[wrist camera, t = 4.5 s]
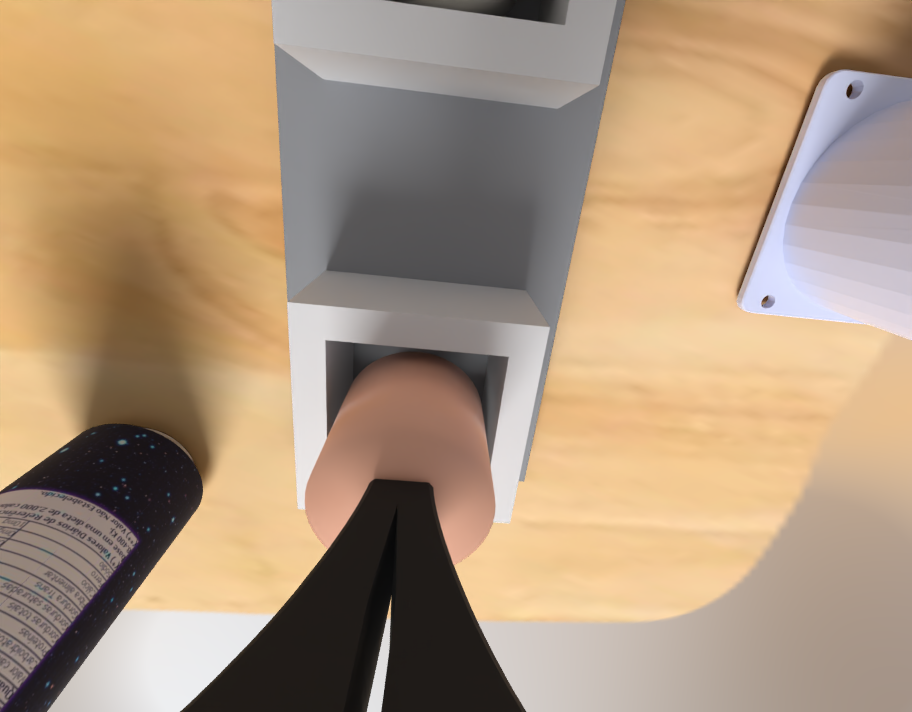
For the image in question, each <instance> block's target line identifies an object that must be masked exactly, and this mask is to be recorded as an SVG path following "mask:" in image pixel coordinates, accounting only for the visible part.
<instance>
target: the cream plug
mask: <svg viewBox="0 0 912 712" xmlns="http://www.w3.org/2000/svg"><path fill="white" fill-rule="evenodd" d="M516 1H517V0H393V2H399V3H407V4H414V5H421V6H428V7H436V8H443V9H450V10H457V11H465V12H472V13H479V14H486V15H494V16H501V17H504V16H505V15H506V14H507V13H508V12H509V11H510V10H511V8H512V7H513V5H514V4H515V3H516Z"/></svg>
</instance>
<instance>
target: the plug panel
mask: <svg viewBox="0 0 912 712" xmlns="http://www.w3.org/2000/svg"><path fill="white" fill-rule="evenodd" d="M625 1H626V0H517V1H516V3H515V4H514V5H513V7H512V8H511V10H510V11H509V12H508V13H507V14H506V15H505V16H504V17H501V16H494V15H486V14H479V13H472V12H465V11H457V10H450V9H443V8H436V7H428V6H421V5H414V4H407V3H399V2H393V0H272V18H273V37H274V45H275V64H276V84H277V103H278V123H279V142H280V162H281V182H282V201H283V221H284V240H285V260H286V279H287V299H288V302H287V309H288V328H289V348H290V367H291V386H292V406H293V425H294V444H295V464H296V483H297V503H298V509H305V490H306V486H307V482H308V480H309V477H310V475H311V472H312V470H313V468H314V466H315V463H316V461H317V459H318V457H319V455H320V452H321V450H322V448H323V446H324V444H325V441H326V439H327V437H328V435H329V432H330V430H331V428H332V426H333V424H334V421H335V419H336V417H337V415H338V413H339V410H340V408H341V406H342V404H343V401H344V399H345V397H346V395H347V393H348V390H349V388H350V386H351V384H352V383H353V381H354V379H355V378H356V377H357V376H358V374H359V373H360V372H361V371H362V370H363V369H364V368H365V367H367V366H368V365H369V364H371V363H372V362H374V361H376V360H378V359H380V358H382V357H385V356H388V355H390V354H395V353H399V352H423V353H429V354H433V355H436V356H439V357H441V358H444V359H446V360H448V361H450V362H452V363H453V364H455V365H456V366H457V367H459V368H460V369H461V370H462V371H463V372H465V373H466V374H467V375H468V377H469V378H470V379H471V381H472V382H473V383H474V385H475V387H476V389H477V391H478V393H479V396H480V400H481V404H482V411H483V417H484V424H485V431H486V438H487V445H488V452H489V459H490V466H491V473H492V480H493V487H494V493H495V505H496V507H495V516H494V520H493V522H497V523H510V520H511V515H512V511H513V506H514V501H515V496H516V491H517V486H518V481H524V479H525V475H526V470H527V465H528V460H529V456H530V451H531V446H532V441H533V437H534V432H535V427H536V422H537V418H538V413H539V408H540V404H541V399H542V394H543V389H544V385H545V380H546V375H547V370H548V366H549V361H550V356H551V351H552V347H553V342H554V337H555V332H556V328H557V323H558V318H559V313H560V309H561V304H562V299H563V294H564V290H565V285H566V280H567V276H568V271H569V266H570V261H571V257H572V252H573V247H574V242H575V238H576V233H577V228H578V223H579V219H580V214H581V209H582V204H583V200H584V195H585V190H586V185H587V181H588V176H589V171H590V167H591V162H592V157H593V152H594V148H595V143H596V138H597V133H598V129H599V124H600V119H601V114H602V110H603V105H604V100H605V95H606V91H607V86H608V81H609V76H610V72H611V67H612V62H613V57H614V53H615V48H616V43H617V39H618V34H619V29H620V24H621V20H622V15H623V10H624V5H625Z"/></svg>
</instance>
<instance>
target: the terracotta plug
mask: <svg viewBox="0 0 912 712" xmlns="http://www.w3.org/2000/svg"><path fill="white" fill-rule="evenodd" d="M374 479H387V480H401V481H415V482H428V483H430V484H431V485H432V486H433V489H434V498H435V504H436V509H437V513H438V518H439V521H440V525H441V529H442V532H443V535H444V539H445V542H446V545H447V548H448V550H449V553H450V556H451V559H452V562H453V565H455V564H457V563H459V562H461V561H462V560H464V559H465V558H467V557H468V556H469V555H471V554H472V553H473V552H474V551H475V550H476V549H477V548H478V547H479V546H480V545H481V544H482V542H483V541H484V539H485V538H486V536H487V535H488V533H489V531H490V529H491V526H492V524H493V520H494V516H495V507H496V505H495V493H494V487H493V480H492V473H491V466H490V459H489V452H488V445H487V438H486V431H485V424H484V417H483V411H482V404H481V400H480V396H479V393H478V391H477V389H476V387H475V385H474V383H473V382H472V381H471V379H470V378H469V377H468V375H467V374H466V373H465V372H463V371H462V370H461V369H460V368H459V367H457V366H456V365H455V364H453V363H452V362H450V361H448V360H446V359H444V358H441V357H439V356H436V355H433V354H429V353H423V352H399V353H395V354H390V355H388V356H385V357H382V358H380V359H378V360H376V361H374V362H372V363H371V364H369V365H368V366H367V367H365V368H364V369H363V370H362V371H361V372H360V373H359V374H358V376H357V377H356V378H355V379H354V381H353V383H352V384H351V386H350V388H349V390H348V393H347V395H346V397H345V399H344V401H343V404H342V406H341V408H340V410H339V413H338V415H337V417H336V419H335V421H334V424H333V426H332V428H331V430H330V432H329V435H328V437H327V439H326V441H325V444H324V446H323V448H322V450H321V452H320V455H319V457H318V459H317V461H316V463H315V466H314V468H313V470H312V472H311V475H310V477H309V480H308V482H307V486H306V490H305V510H306V515H307V518H308V521H309V524H310V526H311V528H312V530H313V532H314V533H315V535H316V536H317V538H318V539H319V540H320V541H321V543H322V544H323V545H324V546H325V547H326V548H327V549H329V547H330V546H331V544H332V543H333V541H334V540H335V539H336V537H337V536H338V534H339V533H340V531H341V530H342V529H343V527H344V526H345V524H346V523H347V521H348V520H349V518H350V516H351V515H352V513H353V512H354V510H355V508H356V507H357V505H358V503H359V502H360V500H361V498H362V496H363V495H364V493H365V491H366V489H367V487H368V485H369V483H370V482H371V481H372V480H374Z"/></svg>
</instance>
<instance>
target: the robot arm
mask: <svg viewBox="0 0 912 712" xmlns="http://www.w3.org/2000/svg"><path fill="white" fill-rule="evenodd" d="M850 83H851V84H852V87H853V90H852V93H851V95H850V97H849V98H847V95H846V90H847V88H848V86H849V84H850ZM766 296H768V300H767V301H766V303H765V304H763V305H761V301H762V300H763V298H764V297H766ZM737 305H738V307H739V308H740V309H742V310H744V311H746V312H750V313H759V314H769V315H778V316H788V317H798V318H808V319H818V320H828V321H838V322H848V323H858V324H868V325H871V326H874V327H877V328H880V329H882V330H885V331H888V332H890V333H893V334H896V335H899V336H901V337H904V338H907V339H910V340H912V78H905V77H898V76H891V75H883V74H876V73H869V72H861V71H854V70H847V69H845V70H838V71H834V72H831V73H829V74H827V75H825V76H824V77H823V78H822V79H821V80H820V82H819V84H818V86H817V87H816V90H815V93H814V95H813V98H812V101H811V103H810V106H809V108H808V111H807V114H806V116H805V119H804V122H803V124H802V127H801V130H800V132H799V135H798V138H797V140H796V143H795V146H794V148H793V151H792V154H791V156H790V159H789V162H788V164H787V167H786V170H785V172H784V175H783V177H782V180H781V183H780V185H779V188H778V191H777V193H776V196H775V199H774V201H773V204H772V207H771V209H770V212H769V215H768V217H767V220H766V223H765V225H764V228H763V231H762V233H761V236H760V239H759V241H758V244H757V246H756V249H755V252H754V254H753V257H752V260H751V262H750V265H749V268H748V270H747V273H746V276H745V278H744V281H743V284H742V286H741V289H740V292H739V294H738V297H737ZM391 595H392V598H391ZM390 600H391V626H390V650H389V658H388V666H387V674H386V681H385V689H384V697H383V704H382V711H381V712H526V711H525V709H524V708H523V706H522V704H521V702H520V701H519V699H518V697H517V696H516V694H515V692H514V691H513V689H512V687H511V686H510V684H509V682H508V680H507V678H506V677H505V674H504V673H503V671H502V669H501V667H500V665H499V663H498V662H497V660H496V658H495V656H494V654H493V652H492V650H491V648H490V646H489V644H488V642H487V640H486V638H485V636H484V634H483V632H482V630H481V628H480V626H479V624H478V622H477V620H476V618H475V615H474V613H473V611H472V609H471V606H470V604H469V602H468V599H467V597H466V595H465V592H464V590H463V588H462V585H461V583H460V580H459V578H458V575H457V573H456V570H455V568H454V565H453V562H452V559H451V556H450V553H449V550H448V548H447V545H446V542H445V539H444V535H443V532H442V529H441V525H440V521H439V518H438V513H437V509H436V504H435V498H434V489H433V486H432V485H431V484H430V483H428V482H415V481H401V480H387V479H374V480H372V481H371V482H370V483H369V485H368V487H367V489H366V491H365V493H364V495H363V496H362V498H361V500H360V502H359V503H358V505H357V507H356V508H355V510H354V512H353V513H352V515H351V516H350V518H349V520H348V521H347V523H346V524H345V526H344V527H343V529H342V530H341V531H340V533H339V534H338V536H337V537H336V539H335V540H334V541H333V543H332V544H331V546H330V547H329V549H328V550H327V551H326V553H325V554H324V556H323V557H322V558H321V560H320V561H319V562H318V563H317V565H316V566H315V567H314V568H313V570H312V571H311V572H310V574H309V575H308V576H307V577H306V579H305V580H304V581H303V582H302V584H301V585H300V586H299V588H298V589H297V590H296V591H295V592H294V594H293V595H292V596H291V597H290V598H289V600H288V601H287V602H286V603H285V604H284V606H283V607H282V608H281V609H280V610H279V611H278V612H277V614H276V615H275V616H274V617H273V618H272V620H270V622H269V623H268V624H267V625H266V626H265V627H264V628H263V629H262V630H261V631H260V632H259V634H258V635H257V636H256V637H255V638H254V639H253V640H252V641H251V642H250V643H249V644H248V645H247V647H245V648H244V649H243V650H242V652H240V654H239V655H238V656H237V657H236V658H235V659H234V660H233V661H232V662H231V663H230V664H229V665H228V666H227V667H226V668H225V669H224V670H223V671H222V672H221V673H220V674H219V675H218V676H217V677H216V678H215V679H214V680H213V681H212V682H211V683H210V684H209V685H208V686H207V687H206V688H205V689H204V690H203V691H202V692H201V693H200V694H199V695H198V696H197V697H196V698H195V699H193V700H192V701H191V702H190V703H189V704H188V705H187V706H186V707H185V708H184V709H183V710H182V711H180V712H367V707H368V702H369V698H370V693H371V689H372V684H373V679H374V675H375V670H376V665H377V661H378V656H379V651H380V647H381V642H382V637H383V633H384V628H385V623H386V619H387V614H388V609H389V605H390Z"/></svg>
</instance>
